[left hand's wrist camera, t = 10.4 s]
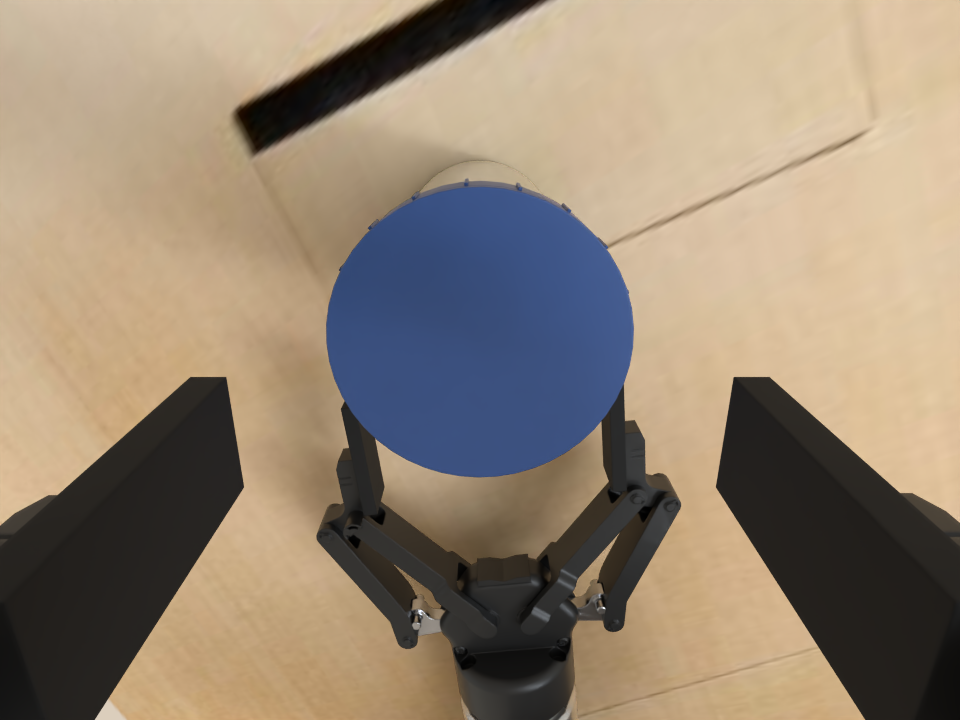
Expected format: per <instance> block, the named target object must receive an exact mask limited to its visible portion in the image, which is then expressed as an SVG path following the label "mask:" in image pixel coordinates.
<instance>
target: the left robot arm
mask: <svg viewBox="0 0 960 720" xmlns="http://www.w3.org/2000/svg"><path fill="white" fill-rule="evenodd" d="M243 488H244V484H243V478H242V472H241V465H240V459H239V453H238V447H237V441H236V435H235V428H234V422H233V416H232V410H231V404H230V398H229V391H228V385H227V379H226V377H190V378H189V379H188V380H187V381H186V382H184V383H183V384H182V385H181V386H180V387H179V388H178V389H177V390H175V391H174V392H173V393H172V394H171V395H170V396H169V397H168V398H166V399H165V400H164V401H163V402H162V403H161V404H160V405H159V406H157V407H156V408H155V409H154V410H153V411H152V412H151V413H150V414H148V415H147V416H146V417H145V418H144V419H143V420H142V421H141V422H139V423H138V424H137V425H136V426H135V427H134V428H133V429H132V430H130V431H129V432H128V433H127V434H126V435H125V436H124V437H123V438H121V439H120V440H119V441H118V442H117V443H116V444H115V445H114V446H112V447H111V448H110V449H109V450H108V451H107V452H106V453H105V454H103V455H102V456H101V457H100V458H99V459H98V460H97V461H96V462H94V463H93V464H92V465H91V466H90V467H89V468H88V469H87V470H85V471H84V472H83V473H82V474H81V475H80V476H79V477H78V478H76V479H75V480H74V481H73V482H72V483H71V484H70V485H69V486H67V487H66V488H65V489H64V490H63V491H62V492H61V493H60V494H58V495H48V496H46V497H44V498H43V499H41V500H39V501H37V502H35V503H33V504H31V505H30V506H28V507H26V508H24V509H22V510H20V511H19V512H17V513H15V514H14V515H12V516H11V517H10V518H9V519H8V520H6V521H5V522H4V523H3V524H2V525H1V526H0V720H95V718H96V717H97V715H98V714H99V712H100V711H101V709H102V708H103V706H104V704H105V703H106V701H107V700H108V698H109V697H110V695H111V694H112V692H113V690H114V689H115V687H116V686H117V684H118V683H119V681H120V680H121V678H122V676H123V675H124V673H125V672H126V670H127V669H128V667H129V666H130V664H131V662H132V661H133V659H134V658H135V656H136V655H137V653H138V651H139V650H140V648H141V647H142V645H143V644H144V642H145V641H146V639H147V637H148V636H149V634H150V633H151V631H152V630H153V628H154V627H155V625H156V623H157V622H158V620H159V619H160V617H161V616H162V614H163V613H164V611H165V609H166V608H167V606H168V605H169V603H170V602H171V600H172V599H173V597H174V595H175V594H176V592H177V591H178V589H179V588H180V586H181V585H182V583H183V581H184V580H185V578H186V577H187V575H188V574H189V572H190V571H191V569H192V567H193V566H194V564H195V563H196V561H197V560H198V558H199V557H200V555H201V553H202V552H203V550H204V549H205V547H206V546H207V544H208V543H209V541H210V539H211V538H212V536H213V535H214V533H215V532H216V530H217V529H218V527H219V525H220V524H221V522H222V521H223V519H224V518H225V516H226V514H227V513H228V511H229V510H230V508H231V507H232V505H233V504H234V502H235V500H236V499H237V497H238V496H239V494H240V493H241V491H242V490H243ZM716 488H717V490H718V491H719V493H720V494H721V496H722V497H723V499H724V500H725V502H726V504H727V505H728V507H729V508H730V510H731V511H732V513H733V514H734V516H735V518H736V519H737V521H738V522H739V524H740V525H741V527H742V529H743V530H744V532H745V533H746V535H747V536H748V538H749V539H750V541H751V543H752V544H753V546H754V547H755V549H756V550H757V552H758V553H759V555H760V557H761V558H762V560H763V561H764V563H765V564H766V566H767V567H768V569H769V571H770V572H771V574H772V575H773V577H774V578H775V580H776V581H777V583H778V585H779V586H780V588H781V589H782V591H783V592H784V594H785V595H786V597H787V599H788V600H789V602H790V603H791V605H792V606H793V608H794V609H795V611H796V613H797V614H798V616H799V617H800V619H801V620H802V622H803V623H804V625H805V627H806V628H807V630H808V631H809V633H810V634H811V636H812V637H813V639H814V641H815V642H816V644H817V645H818V647H819V648H820V650H821V651H822V653H823V655H824V656H825V658H826V659H827V661H828V662H829V664H830V666H831V667H832V669H833V670H834V672H835V673H836V675H837V676H838V678H839V680H840V681H841V683H842V684H843V686H844V687H845V689H846V690H847V692H848V694H849V695H850V697H851V698H852V700H853V701H854V703H855V704H856V706H857V708H858V709H859V711H860V712H861V714H862V715H863V717H864V718H865V720H960V523H959V522H958V521H957V520H956V519H954V518H953V517H952V516H951V515H950V514H949V513H947V512H946V511H944V510H942V509H941V508H939V507H937V506H935V505H933V504H931V503H929V502H928V501H926V500H924V499H922V498H920V497H918V496H916V495H914V494H913V493H899V492H898V491H897V490H896V489H895V488H894V487H893V486H891V485H890V484H889V483H888V482H887V481H886V480H885V479H884V478H882V477H881V476H880V475H879V474H878V473H877V472H876V471H875V470H873V469H872V468H871V467H870V466H869V465H868V464H867V463H866V462H864V461H863V460H862V459H861V458H860V457H859V456H858V455H857V454H855V453H854V452H853V451H852V450H851V449H850V448H849V447H848V446H846V445H845V444H844V443H843V442H842V441H841V440H840V439H839V438H837V437H836V436H835V435H834V434H833V433H832V432H831V431H830V430H828V429H827V428H826V427H825V426H824V425H823V424H822V423H821V422H819V421H818V420H817V419H816V418H815V417H814V416H813V415H812V414H810V413H809V412H808V411H807V410H806V409H805V408H804V407H803V406H801V405H800V404H799V403H798V402H797V401H796V400H795V399H794V398H792V397H791V396H790V395H789V394H788V393H787V392H786V391H785V390H783V389H782V388H781V387H780V386H779V385H778V384H777V383H776V382H774V381H773V380H772V379H771V378H770V377H734V379H733V385H732V391H731V398H730V404H729V410H728V416H727V422H726V428H725V435H724V441H723V447H722V453H721V459H720V465H719V472H718V478H717V484H716Z"/></svg>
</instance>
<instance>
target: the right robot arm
mask: <svg viewBox="0 0 960 720" xmlns="http://www.w3.org/2000/svg"><path fill="white" fill-rule="evenodd" d="M341 412H342V416H343V421H344V426H345V430H346V435H347V440H348V444H349V448H345V449H343V451H342V453H341V456H340V458H339V461H338V464H337V469H336V471H337V475H338V478H339V484H340V489H341V493H342V497H343V502H344V503H343V504H341V505H340V504H332V505H330V506H329V507H328V508H327V510H326V513H325V515H324V518H323V520H322V523H321V525H320V528H319V530H318V533H317V540H318V542H319V543H320V544H321V545H322V547H323V548H324V549H325V550H326V551H327V552H328V553H329V554H330V555H331V557H332V558H333V559H334V560H335V561H336V562H337V563H338V564H339V565H340V567H341V568H342V569H343V570H344V571H345V572H346V573H347V574H348V576H349V577H350V578H351V579H352V580H353V581H354V582H355V583H356V584H357V586H358V587H359V588H360V589H361V590H362V591H363V592H364V593H365V594H366V596H367V597H368V598H369V599H370V600H371V601H372V602H373V603H374V604H375V606H376V607H377V608H378V609H379V610H380V611H381V612H382V613H383V614H384V616H385V617H386V618H387V619H388V620H389V621H390V622H391V625H392V628H393V631H394V634H395V636H396V639H397V642H398V644H399V645H400V646H401V647H402V648H405V649H411V648H414V647H415V646H416V645H417V642H418V636H421V635H426V634H432V633H438V632H442V633H443V634H444V635H445V636H446V637H447V638H448V640H449V641H450V643H451V645H452V650H453V656H454V661H455V667H456V673H457V679H458V685H459V691H460V695H461V704H462V709H463V715H464V720H578V710H577V698H576V686H575V673H574V659H573V646H572V631H573V628H574V626H575V625H576V623H577V621H578V620H586V621H603V623H604V627H605V629H606V630H608V631H610V632H617V631H619V630H621V629H622V628H623V626H624V621H625V612H626V603H627V601H628V599H629V597H630V595H631V594H632V592H633V590H634V588H635V587H636V585H637V583H638V581H639V580H640V578H641V576H642V574H643V573H644V571H645V569H646V567H647V566H648V564H649V562H650V561H651V559H652V557H653V555H654V554H655V552H656V550H657V548H658V547H659V545H660V543H661V541H662V540H663V538H664V536H665V534H666V533H667V531H668V529H669V527H670V526H671V524H672V522H673V520H674V519H675V517H676V515H677V513H678V512H679V510H680V507H681V502H680V500H679V498H678V496H677V494H676V492H675V491H674V489H673V487H672V485H671V483H670V481H669V479H668V478H667V476H666V475H664V474H661V473H657V474H654V475H648V474H645V440H644V437H643V435H642V433H641V431H640V430H639V428H638V426H637V424H636V422H635V420H632V421H625V411H624V384H623V386H622V388H621V390H620V392H619V394H618V397H617V399H616V401H615V402H614V404H613V405H612V407H611V408H610V410H609V411H608V413H607V414H606V416H605V417H604V418H603V419H602V443H603V465H604V469H605V472H606V474H607V477H608V480H609V482H608V483H607V485H606V486H605V487H604V488H603V489H602V490H601V491H600V493H599V494H598V495H597V496H596V497H595V498H594V499H593V501H592V502H591V503H590V504H589V505H588V506H587V508H586V509H585V510H584V511H583V512H582V513H581V514H580V516H579V517H578V518H577V519H576V520H575V521H574V522H573V524H572V525H571V526H570V527H569V528H568V529H567V531H566V532H565V533H564V534H563V535H562V536H561V537H560V539H559V540H558V541H557V542H555V543H554V542H551V543H550V544H549V545H548V546H547V547H546V548H545V550H544V551H543V552H542V553H541V554H540V555H539V557H538V558H537V559H536V560H535V559H532V558H528V554H522V555H514V556H511V557H508V558H505V559H498V558H490V557H489V558H478V559H477V563H475V564H472V565H471V564H469V563H468V562H467V561H465V560H464V559H463V558H462V557H460V556H459V555H458V554H456V553H455V552H453V551H450V552H447V551H445V550H444V549H442V548H441V547H440V546H439V545H437V544H436V543H435V542H433V541H432V540H431V539H429V538H428V537H427V536H425V535H424V534H423V533H421V532H420V531H419V530H417V529H416V528H415V527H414V526H412V525H411V524H410V523H408V522H407V521H406V520H404V519H403V518H402V517H400V516H399V515H398V514H396V513H395V512H394V511H392V510H391V509H390V508H389V507H387V506H386V505H385V504H383V503H382V502H381V498H382V494H383V491H384V482H383V477H382V472H381V467H380V462H379V457H378V452H377V446H376V441H375V438H374V437H373V436H372V435H371V434H370V433H369V432H368V431H367V430H366V429H365V428H364V427H363V426H362V424H361V423H360V422H359V421H358V419H357V418H356V417H355V416H354V414H353V413H352V412H351V410H350V408H349V407H348V405H347V404H346V402H344V404H343V406H342V408H341ZM618 534H619V535H618ZM617 535H618V537H617V539H616V541H615V543H614V544H613V546H612V548H611V550H610V552H609V554H608V555H607V557H606V559H605V561H604V563H603V565H602V567H601V570H600V573H599V578H598V580H597V579H594V580H592V581H591V582H590V585H591V586H589V588H588V590H587V592H586V593H585V594H584V595H583V596H580V597H575V595H574V593H573V590H574V589H575V587H576V583H577V580H578V578H579V577H580V576H581V574H582V573H583V572H584V571H585V570H586V569H587V568H588V567H589V566H590V565H591V563H592V562H593V561H594V560H595V559H596V558H597V557H598V556H599V555H600V554H601V552H602V551H603V550H604V549H605V548H606V547H607V546H608V545H609V544H610V543H611V541H612V540H613V539H614V538H615V537H616V536H617ZM393 564H395V565H396V566H397V567H399V568H400V569H401V570H403V571H404V572H406V573H407V574H408V575H410V576H411V577H412V578H414V579H415V580H416V581H418V582H419V583H421V584H422V585H423V586H425V587H426V588H427V589H429V590H430V591H431V592H432V593H433V596H434V598H435V600H436V601H437V602H438V603H439V604H440V605H441V608H440V609H435V608H432V607H430V606H429V605H428V604H427V602H426V601H425V600H424V596H423V595H421V594H418V595H415V592H414V590H413V588H412V587H411V585H410V584H409V582H408V581H407V580H406V579H405V577H404V576H403V575H402V574H401V573H400V572H399V570H398V569H397V568H396V567H395V566H394V565H393ZM457 581H458V582H457Z"/></svg>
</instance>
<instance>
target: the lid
mask: <svg viewBox="0 0 960 720" xmlns="http://www.w3.org/2000/svg"><path fill="white" fill-rule="evenodd" d="M368 229H369V230H370V231H369V232H368V233H367V234H366V235H365V236H364V237H363V238H362V239H361V241H360V242H359V243H358V244H357V245H356V247H355V248H354V249H353V250H352V252H351V254H350V255H349V257H348V258H347V260H346V262H345V263H344V264H343V265H342V266H341V267H340V269H339V271H340V273H339V275H338V278H337V280H336V282H335V285H334V287H333V291H332V295H331V298H330V302H329V307H328V315H327V322H326V340H327V349H328V356H329V362H330V366H331V369H332V372H333V376H334V379H335V382H336V384H337V386H338V388H339V390H340V393H341V395H342V397H343V399H344V400H345V402H346V404H347V405H348V407H349V408H350V410H351V412H352V413H353V414H354V416H355V417H356V418H357V419H358V421H359V422H360V423H361V424H362V426H363V427H364V428H365V429H366V430H367V431H368V432H369V433H370V434H371V435H372V436H373V437H374V438H376V439H377V440H378V441H379V442H380V443H382V444H383V445H384V446H386V447H387V448H388V449H390V450H391V451H393V452H394V453H396V454H398V455H400V456H401V457H403V458H405V459H406V460H408V461H411V462H413V463H415V464H418V465H420V466H422V467H425V468H428V469H431V470H434V471H438V472H441V473H446V474H451V475H457V476H467V477H495V476H502V475H509V474H515V473H518V472H522V471H526V470H529V469H533V468H535V467H537V466H540V465H542V464H545V463H547V462H550V461H551V460H553V459H555V458H557V457H559V456H561V455H562V454H564V453H566V452H567V451H569V450H570V449H571V448H573V447H574V446H576V445H577V444H578V443H580V442H581V441H582V440H583V439H584V438H585V437H586V436H587V435H589V434H590V433H591V432H592V431H593V430H594V429H595V428H596V426H597V425H598V424H599V423H600V422H601V421H602V419H603V418H604V417H605V416H606V414H607V413H608V411H609V410H610V408H611V407H612V405H613V404H614V402H615V401H616V399H617V397H618V394H619V392H620V390H621V388H622V386H623V384H624V381H625V378H626V375H627V372H628V369H629V366H630V361H631V355H632V350H633V335H634V325H633V315H632V307H631V303H630V299H629V295H628V294H629V291H628V290H627V288H626V285H625V283H624V280H623V278H622V275H621V273H620V271H619V269H618V267H617V265H616V264H615V262H614V260H613V258H612V257H611V255H610V253H609V252H608V251H607V248H608V247H607V245H606V244H605V243H604V242H603V241H602V240H601V239H600V238H599V237H598V238H597V237H596V236H595V235H594V234H593V233H592V232H591V231H590V230H589V229H588V228H587V227H586V226H585V225H584V224H583V223H582V222H581V221H580V220H579V219H578V218H577V217H576V216H575V215H574V214H572V213H571V210H570V209H569V208H568V207H567V206H566V205H565V204H564V203H563V204H562V205H560V204H559V203H557V202H555V201H553V200H551V199H550V198H548V197H546V196H544V195H542V194H540V193H537V192H535V191H532V190H529V189H527V188H524V187H522V186H521V185H520V183H516V185H512V184H507V183H503V182H492V181H469V179H465V181H464V182H458V183H453V184H448V185H443V186H439V187H436V188H434V189H431V190H428V191H425V192H422V193H419V191H418V192H416V193H415V194H414V195H413V196H412V197H411V198H410V199H408V200H406V201H405V202H403V203H402V204H400V205H399V206H397V207H396V208H394V209H393V210H391V211H390V212H389V213H388V214H387V215H385V216H384V217H383V218H382V219H381V220H380V221H379V220H378V219H377V220H376V221H375V222H374V223H373V224H372V225H370V226H369V227H368Z"/></svg>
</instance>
